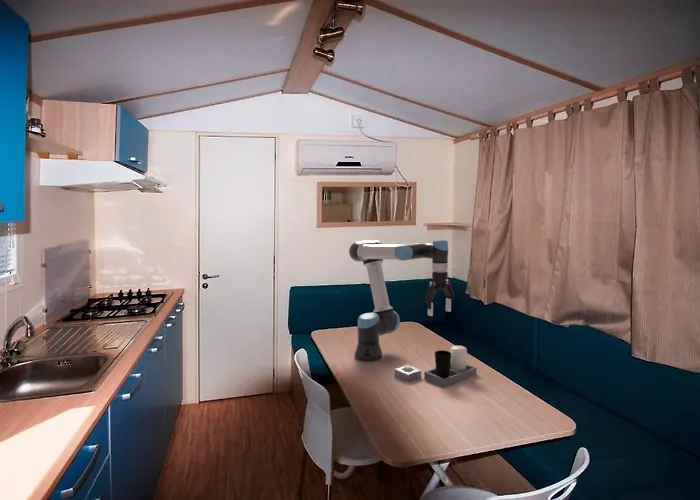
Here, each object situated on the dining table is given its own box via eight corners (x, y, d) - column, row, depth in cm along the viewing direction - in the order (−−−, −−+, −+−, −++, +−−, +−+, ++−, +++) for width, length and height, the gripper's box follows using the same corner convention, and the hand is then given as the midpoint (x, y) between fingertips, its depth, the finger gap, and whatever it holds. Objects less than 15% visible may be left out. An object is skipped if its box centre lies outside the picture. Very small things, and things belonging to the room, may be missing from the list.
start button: (402, 374, 201) (402, 367, 200) (407, 372, 203) (407, 365, 203) (407, 376, 198) (407, 369, 197) (413, 375, 200) (413, 367, 200)
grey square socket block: (394, 376, 201) (394, 369, 201) (407, 371, 207) (407, 364, 206) (408, 381, 194) (408, 374, 194) (421, 377, 200) (421, 370, 199)
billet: (447, 371, 204) (447, 347, 203) (456, 367, 209) (457, 344, 208) (459, 376, 198) (460, 351, 197) (469, 372, 203) (470, 348, 202)
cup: (451, 381, 192) (451, 356, 191) (434, 380, 193) (434, 355, 192) (450, 375, 199) (450, 350, 198) (434, 374, 201) (434, 349, 200)
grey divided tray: (424, 378, 198) (424, 371, 197) (455, 367, 212) (456, 360, 212) (444, 387, 188) (444, 379, 188) (476, 374, 202) (476, 367, 202)
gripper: (428, 274, 195) (428, 318, 197) (462, 269, 210) (461, 311, 212) (416, 272, 201) (416, 315, 202) (450, 268, 216) (449, 308, 218)
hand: (439, 313), depth 207 cm, fingers open, 13 cm apart
